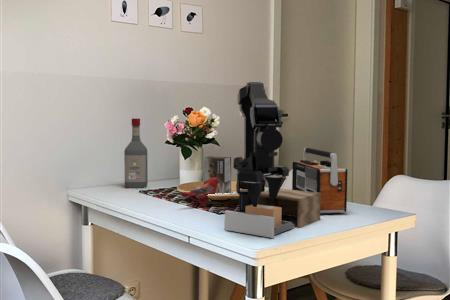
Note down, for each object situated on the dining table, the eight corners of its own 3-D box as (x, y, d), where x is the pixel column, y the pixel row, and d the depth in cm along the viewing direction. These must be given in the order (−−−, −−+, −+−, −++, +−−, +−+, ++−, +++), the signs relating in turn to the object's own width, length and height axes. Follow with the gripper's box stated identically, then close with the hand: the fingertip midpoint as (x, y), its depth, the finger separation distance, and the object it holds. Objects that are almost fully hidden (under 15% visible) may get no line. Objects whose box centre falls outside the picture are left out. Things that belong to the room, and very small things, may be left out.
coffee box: (231, 199, 185) (232, 156, 184) (224, 202, 179) (225, 158, 178) (210, 197, 189) (210, 155, 187) (202, 200, 183) (202, 157, 182)
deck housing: (299, 228, 138) (299, 199, 138) (254, 221, 147) (254, 193, 146) (320, 219, 150) (320, 192, 149) (277, 213, 158) (277, 188, 158)
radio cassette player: (290, 200, 183) (291, 147, 182) (317, 200, 185) (318, 147, 184) (318, 216, 155) (319, 153, 153) (349, 215, 156) (350, 153, 155)
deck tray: (272, 237, 126) (272, 217, 125) (224, 229, 134) (224, 210, 134) (297, 227, 137) (297, 209, 137) (252, 220, 146) (252, 203, 145)
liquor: (145, 188, 210) (144, 118, 208) (123, 188, 210) (123, 118, 207) (148, 185, 219) (147, 118, 217) (127, 185, 219) (127, 118, 217)
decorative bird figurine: (221, 205, 173) (222, 176, 172) (180, 210, 162) (180, 180, 161) (216, 203, 175) (217, 176, 174) (175, 209, 164) (175, 179, 163)
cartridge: (245, 223, 137) (245, 205, 137) (253, 221, 141) (254, 203, 141) (273, 228, 132) (273, 209, 132) (281, 225, 136) (281, 207, 135)
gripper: (257, 145, 147) (256, 197, 148) (220, 148, 132) (220, 205, 133) (290, 147, 141) (289, 200, 142) (255, 150, 125) (255, 210, 126)
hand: (263, 204), depth 136 cm, fingers open, 9 cm apart
